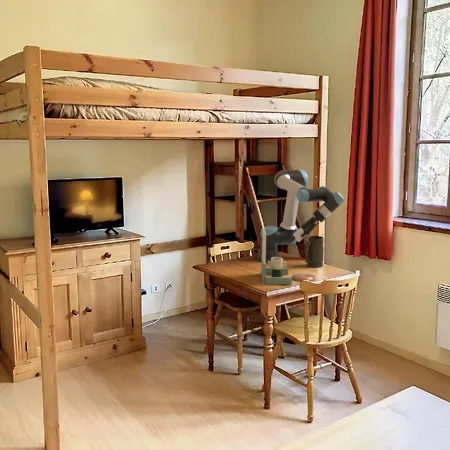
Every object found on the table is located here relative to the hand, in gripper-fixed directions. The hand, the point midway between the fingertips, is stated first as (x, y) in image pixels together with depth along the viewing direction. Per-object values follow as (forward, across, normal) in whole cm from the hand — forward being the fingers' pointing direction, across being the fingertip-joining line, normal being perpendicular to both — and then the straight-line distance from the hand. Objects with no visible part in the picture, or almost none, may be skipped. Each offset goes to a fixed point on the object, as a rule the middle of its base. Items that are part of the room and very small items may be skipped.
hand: (295, 238), depth 314 cm
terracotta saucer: (+14, +2, -22) cm, 26 cm away
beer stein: (+7, +34, -29) cm, 45 cm away
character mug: (+26, 0, -10) cm, 28 cm away
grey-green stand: (+25, 0, -10) cm, 27 cm away
